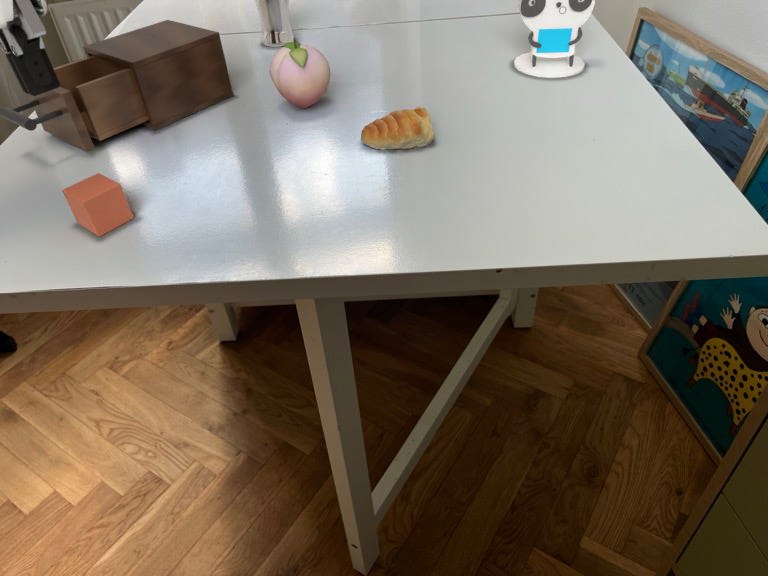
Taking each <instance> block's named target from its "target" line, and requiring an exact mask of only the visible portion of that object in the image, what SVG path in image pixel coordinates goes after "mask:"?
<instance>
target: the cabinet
mask: <svg viewBox="0 0 768 576" xmlns="http://www.w3.org/2000/svg"><path fill="white" fill-rule="evenodd" d="M220 35H221V34H220V32H219V31H216V30H212V29H207V28H203V27H199V26H195V25H190V24H188V23H187V24H186V23H183V22H179V21H174V20H171V19H166V20H162V21H158V22H156V23H153V24H149V25H147V26H146V25H145V26H144V27H140V28H137V29H134V30H130V31H127V32H124V33H120V34H118V35H114V36H111V37H108V38H105V39H102V40H99V41H96V42H93V43H89V44H86V45H82V49H83V51H84V53H85V56H86V57H89V56H92V55H95V56H98V57H101V58H104V59H107V60H110V61H113V62H116V63H119V64H122V65H125V66H128V67H131V68H132V71H133V74H134V76H135V79H136V82H137V85H138V88H139V91H140V94H141V97H142V100H143V103H144V106H145V109H146V112H147V115H148V118H149V120H148V121H145V122H143V123H141V124H140V125H141V126H144V127H146V128H149V129H150V130H154V131H158V130H160V129H162V128H164V127H168V126H169V125H171V124H173V123H175V122H178V121H180V120H183V119H185V118H186V117H189V116H191V115H194V114H195V113H198V112H201V111H203V110H205V109H208V108H209V107H211V106H214V105H216V104H218V103H220V102H222V101H225V100H227V99H229V98H231V97H234V93H233V88H232V83H231V79H230V74H229V70H228V65H227V61H226V58H225V57H226V56H225V53H224V48H223V43H222V39H221V36H220Z"/></svg>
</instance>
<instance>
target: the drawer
mask: <svg viewBox="0 0 768 576" xmlns="http://www.w3.org/2000/svg"><path fill="white" fill-rule="evenodd" d="M53 69H54V71H55V73H56V75H57V78H58V80H59V82H60V86H59V87H58V88H56V89H53V90H50V91H48V92H45V93H42V94H39V95H37V96H32V95H30V94H27V93H26V95H27V97H28V99H29V101H28V102H25V103H22V104H19V105H17V106H14V107H11V108H9V107H7V106H2V107H0V117H1V118H4V119H5V120H7V121H9V122H11V123H14V124H15V125H17V126H18V127H21V128H22V129H25V130H27V131H31V132H32V131H35V130H36V129H37V126H38V125H40V124H41V127H42V128H43V131H44V132H46V133H47V134H49V135H52V136H54V137H56V138H58V139H60V140H63V141H64V142H67V143H69V144H70V145H73V146H74V147H77V148H79V149H80V150H83V151H85V152H90V151H92V150H94V149H95V145H94V143H93V140H92V138H93V139H95V140H98V141H99V142H102V141H103V140H105V139H108V138H110V137H112V136H115V135H118V134H119V133H122V132H124V131H126V130H129V129H131V128H134V127H136V126H139V125H141V123H143V122H145V121H148V120H149V118H148V115H147V112H146V109H145V106H144V103H143V100H142V97H141V94H140V91H139V88H138V85H137V82H136V79H135V76H134V74H133V71H132V68H131V67H128V66H125V65H122V64H119V63H116V62H113V61H110V60H107V59H104V58H101V57H98V56H95V55H92V56H89V57H87V56H86V57H83V58H80V59H77V60H74V61H70V62H68V63H65V64H62V65H58V66H56V67H53ZM32 108H33V110H34V112H35V114H36V116H37V117H35V118H33V119H32V118H30V117H28V116H26V115H24V114H22V113H20V112H24V111H26V110H29V109H32Z"/></svg>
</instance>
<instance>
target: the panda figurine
mask: <svg viewBox="0 0 768 576" xmlns="http://www.w3.org/2000/svg"><path fill="white" fill-rule="evenodd" d="M595 3H596V0H518V10H519V14H520V16H521V19H522V21H523V23H524V24H525V26H526V27H527V29H529V30H530V33H529V35H528V43H529V45H530V50H529V52H526V53H522V54H520V55H518V56H517V57H515V58H514V61H513V66H514V68H515V69H516V70H517V71H519V72H520V73H522V74H524V75H525V74H526V75H529V76H532V77H539V78H551V79H552V78H553V79H554V78H555V79H556V78H566V77H571V76H575V75H577V74H580V73H581V72H582V71H584V68H585V66H586V65H585V64H586V63H585V61H584V59H582V58H580V56H577V55H575V50H576V44H577V43H578V42H580V41H581V39H582V37H583V30H582V28H581V26H583V25H584V24H585V23H586V22H587V20H588V19H589V18H590V16H591V15H592V13H593V10H594V7H595Z"/></svg>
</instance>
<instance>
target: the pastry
mask: <svg viewBox="0 0 768 576" xmlns="http://www.w3.org/2000/svg"><path fill="white" fill-rule="evenodd" d="M434 139H435V130H434V127H433V123H432V121H431V117H430V113H429V112H428V110H427V109H426V108H425V107H421V106H416V108H415V109H402V110H393V111H391V112H390V113H389V114H386V115H385V116H382V117H381V118H377V119H375V120H373V121H372V122H370V123H368V124H366V125H365V126H364V127H363V129H362V130H361V134H360V140H361V142H362V143H363V144H365V145H366V146H368V147H370V148H372V149H376V150H381V151H385V150H392V151H393V150H407V149H413V148H415V147H418V148H422V147H425V146H428V145H430V144H432V142H433V140H434Z"/></svg>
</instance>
